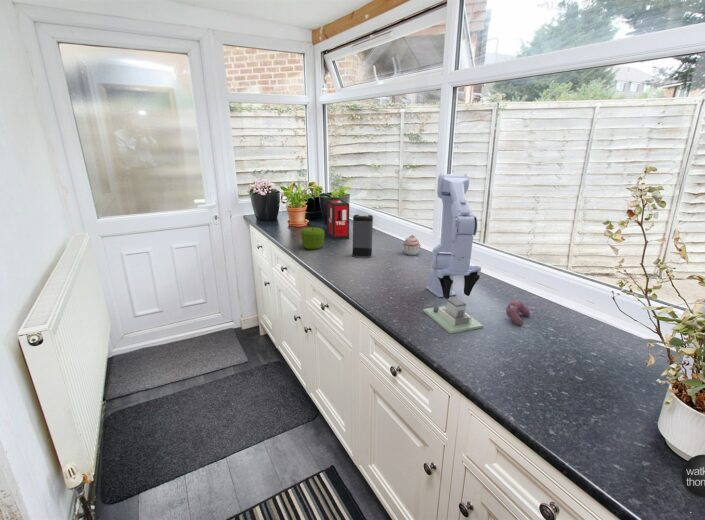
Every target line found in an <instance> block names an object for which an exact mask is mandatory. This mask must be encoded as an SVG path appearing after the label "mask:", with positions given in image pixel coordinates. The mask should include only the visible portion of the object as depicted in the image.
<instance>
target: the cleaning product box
mask: <svg viewBox="0 0 705 520" xmlns="http://www.w3.org/2000/svg"><path fill="white" fill-rule="evenodd" d="M326 233H327V235H328V236H329V237H331V238H332V239H333V241H335V240H338V241H339V240H349V239H350V204H349V202H347V201H345V200H342V199H326Z"/></svg>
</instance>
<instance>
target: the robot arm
mask: <svg viewBox="0 0 705 520" xmlns="http://www.w3.org/2000/svg"><path fill="white" fill-rule="evenodd" d="M469 187H470V177H469V175H468V174H467V173H465V174H454V173H440V174H439V175H438V178H437V190H436V193H437V198H439V199H441V202H442V211H441V213H442V214H441V227H440V229H441V230H440V243H439V244H438V245H436V246H435V247H434V248H433V249H432V250H431V258H430V260H431V261H430V266H431V269H430V271H429V275H428V285H427V286H426V289H427V290H428V291H430V292H431V293H432V294H434V295H435V296H436V297H438V298H444V299H446V300H447V299H450V296H457V295H458V294H457V292H455V291H454V290H453V288H454V287H453V286H454V280H455V279H454V278H455V276H463V281H464V284H463V295H465V296H467V297H470V295H471V293H472V291H473V289H474V286H475V285H476V284H477V282H478V281H479V280H480V277H481V276H480V274H481V271H482V267H480V266H479V265H471V260H472V259H471V258H472V257H471V256H472V249H473V241H474V237H475V236H476V234H477V231H478V218H477V216H476V215H475V214H473V212H472V209H471V205H470V202H469V201H468V200H466V197H465V196H466V193H467V191H468V189H469Z"/></svg>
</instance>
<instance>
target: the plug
mask: <svg viewBox="0 0 705 520" xmlns="http://www.w3.org/2000/svg"><path fill="white" fill-rule="evenodd" d="M466 305H467V304H466V302H464V301H462V300H461V299H459V298H458V297H453V298H452V297H451V298H449V299H446V305H445V306H446V313H448V314H449V315H450V316H452V317H453V318H460V317H464V315H465V313H466V307H467V306H466Z"/></svg>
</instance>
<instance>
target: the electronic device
mask: <svg viewBox="0 0 705 520" xmlns="http://www.w3.org/2000/svg"><path fill="white" fill-rule="evenodd" d="M373 224H374V216H373V215H371V214H367V215H360V214H354V215H353V216H352V257H353V258H365V257H366V259H367V258H368V259H369V257H370V258H372V255H373V253H372V251H373Z"/></svg>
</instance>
